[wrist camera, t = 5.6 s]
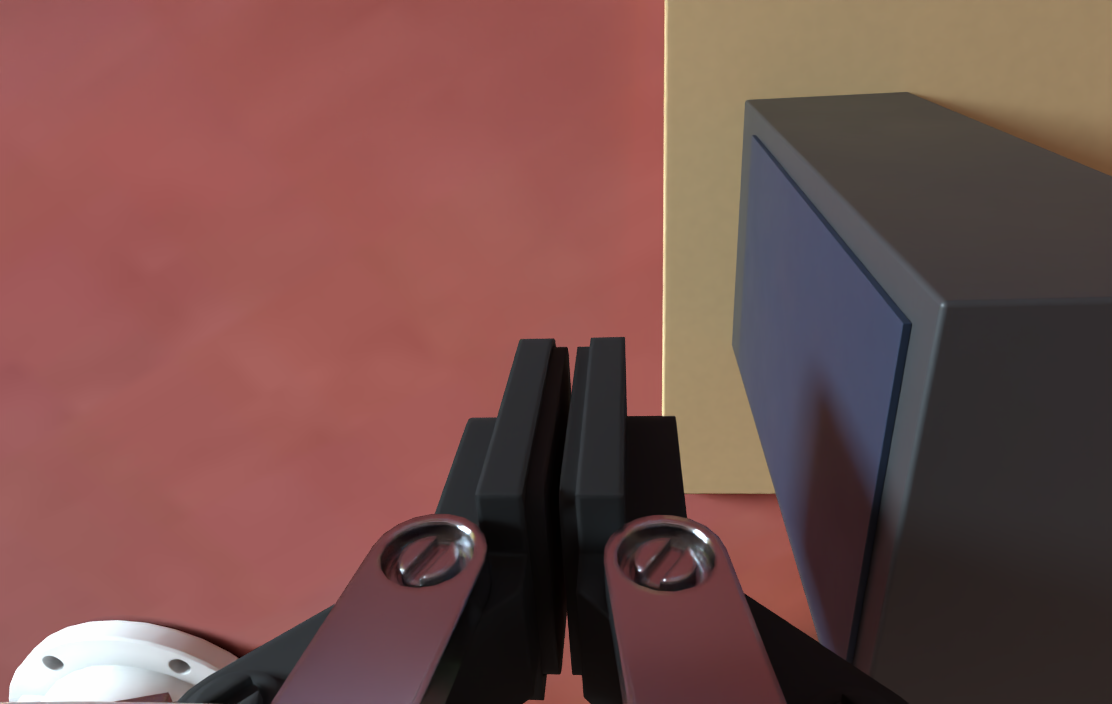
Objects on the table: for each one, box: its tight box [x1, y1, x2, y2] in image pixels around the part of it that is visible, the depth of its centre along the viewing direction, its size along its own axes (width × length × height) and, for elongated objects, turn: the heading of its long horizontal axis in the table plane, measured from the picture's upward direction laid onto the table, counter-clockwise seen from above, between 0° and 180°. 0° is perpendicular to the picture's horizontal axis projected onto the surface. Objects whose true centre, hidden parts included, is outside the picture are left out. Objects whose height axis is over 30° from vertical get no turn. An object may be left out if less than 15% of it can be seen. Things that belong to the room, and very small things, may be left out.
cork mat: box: [662, 0, 1112, 494], centre depth 20 cm, size 20×18×1 cm
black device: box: [732, 92, 1112, 704], centre depth 14 cm, size 4×7×13 cm, turn 4°
